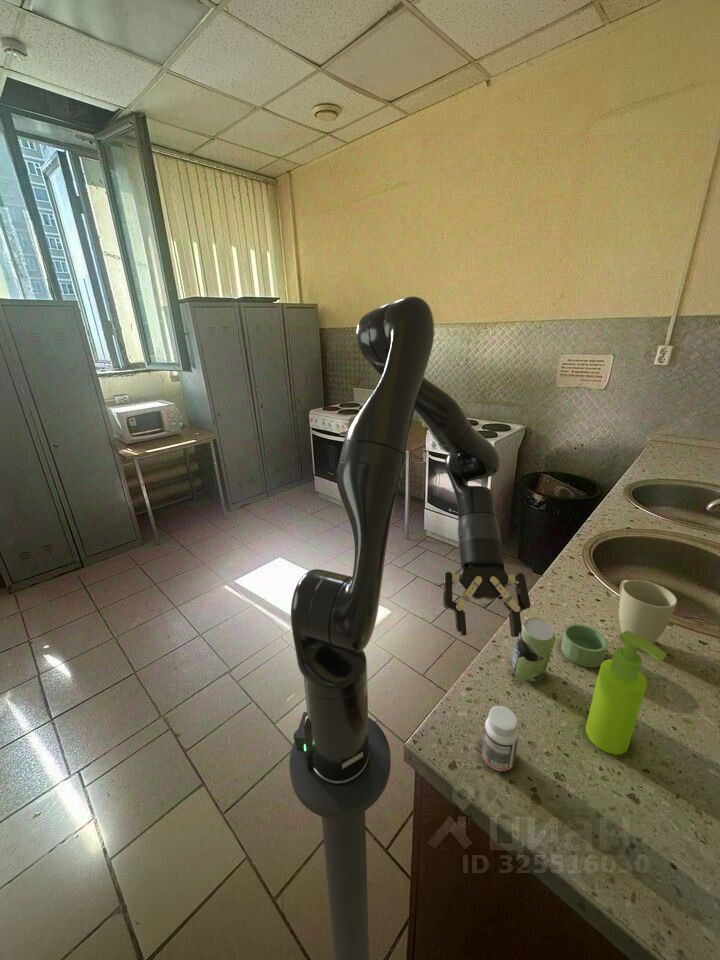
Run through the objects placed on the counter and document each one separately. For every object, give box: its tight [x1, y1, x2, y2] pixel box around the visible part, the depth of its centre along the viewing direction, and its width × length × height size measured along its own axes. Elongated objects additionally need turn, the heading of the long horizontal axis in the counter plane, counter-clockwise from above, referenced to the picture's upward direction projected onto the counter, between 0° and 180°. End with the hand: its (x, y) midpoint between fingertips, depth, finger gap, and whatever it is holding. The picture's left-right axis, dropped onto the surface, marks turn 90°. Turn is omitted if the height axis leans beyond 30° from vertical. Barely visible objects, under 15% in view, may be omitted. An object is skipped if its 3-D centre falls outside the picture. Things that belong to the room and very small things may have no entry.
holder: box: [560, 623, 608, 668], centre depth 79 cm, size 8×8×4 cm
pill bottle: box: [481, 705, 519, 772], centre depth 59 cm, size 5×5×8 cm
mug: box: [618, 579, 678, 644], centre depth 82 cm, size 11×10×12 cm
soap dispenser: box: [585, 630, 668, 756], centre depth 59 cm, size 6×7×20 cm
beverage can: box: [510, 617, 556, 682], centre depth 73 cm, size 6×7×12 cm
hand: (489, 636), depth 66 cm, fingers open, 8 cm apart
